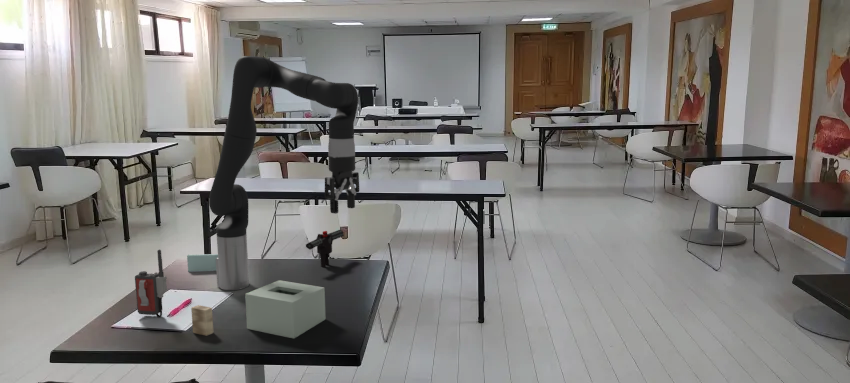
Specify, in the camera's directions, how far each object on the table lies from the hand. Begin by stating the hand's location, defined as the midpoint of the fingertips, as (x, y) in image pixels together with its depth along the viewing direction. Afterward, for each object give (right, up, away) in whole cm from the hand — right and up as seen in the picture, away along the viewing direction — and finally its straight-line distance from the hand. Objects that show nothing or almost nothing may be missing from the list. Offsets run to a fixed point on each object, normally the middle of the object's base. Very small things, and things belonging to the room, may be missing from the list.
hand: (342, 210), depth 182 cm
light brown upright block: (-36, -33, -12) cm, 50 cm away
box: (-15, -32, -7) cm, 35 cm away
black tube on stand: (-12, -24, +45) cm, 52 cm away
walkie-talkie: (-55, -31, 0) cm, 63 cm away
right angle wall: (-54, -24, +48) cm, 76 cm away
